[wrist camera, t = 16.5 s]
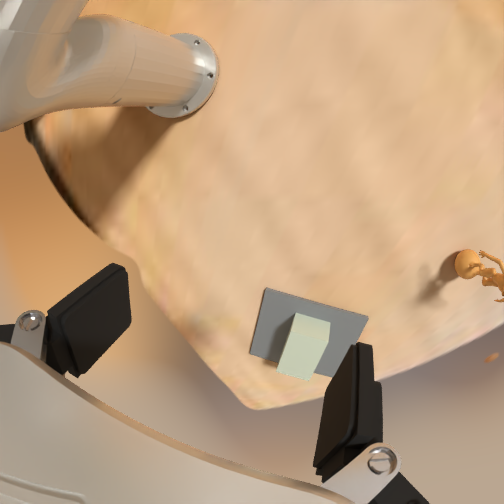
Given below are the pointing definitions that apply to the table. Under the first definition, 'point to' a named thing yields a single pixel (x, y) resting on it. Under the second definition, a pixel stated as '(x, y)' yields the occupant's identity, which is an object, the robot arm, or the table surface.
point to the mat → (285, 306)
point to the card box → (304, 346)
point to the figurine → (479, 269)
